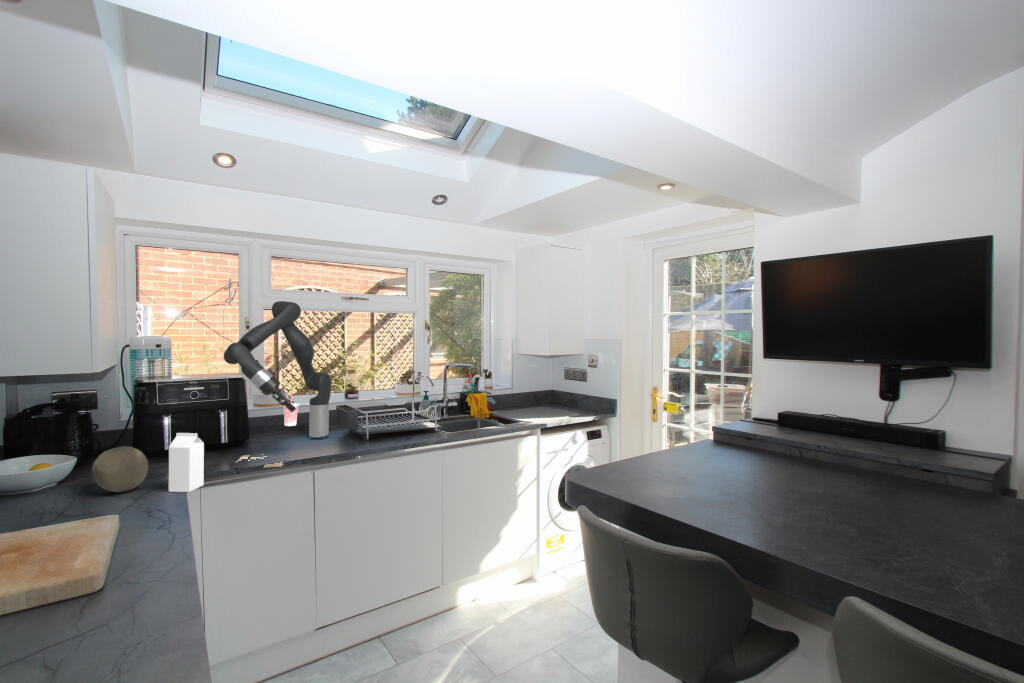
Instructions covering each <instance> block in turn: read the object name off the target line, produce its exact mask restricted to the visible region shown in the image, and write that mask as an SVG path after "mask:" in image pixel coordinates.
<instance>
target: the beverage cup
mask: <svg viewBox="0 0 1024 683" xmlns="http://www.w3.org/2000/svg"><path fill="white" fill-rule="evenodd" d="M290 397H291V404H292V405H293V406H294V407H295V408H296V409H295V410H294V411H293V412H291V411H290V410H289V409H288V408H287V407H286V406H283V419H284V420H283V421H284V423H283V424H284V426H285V427H293V426H294V427H295V426H297V421H298V412H299V411H298V410H299V407H300V403H297V402H296V403H295V402H294V403H292V401H293V392H292V391H291V392H290Z"/></svg>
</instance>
